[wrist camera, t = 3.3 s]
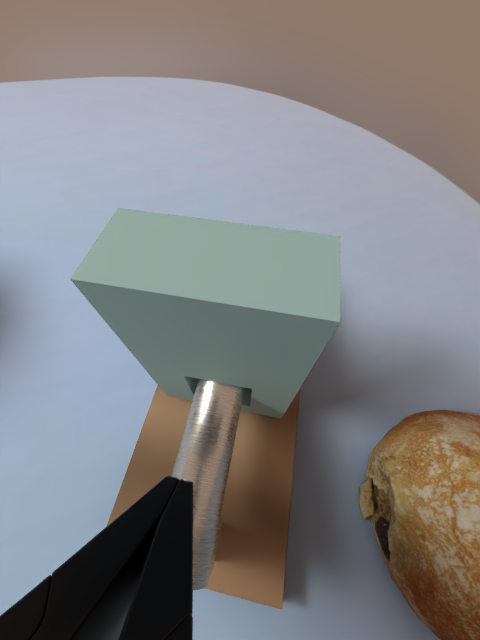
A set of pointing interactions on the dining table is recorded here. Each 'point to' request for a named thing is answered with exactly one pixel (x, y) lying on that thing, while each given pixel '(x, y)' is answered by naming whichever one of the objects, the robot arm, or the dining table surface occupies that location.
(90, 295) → the sage green slotted block
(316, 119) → the dining table surface
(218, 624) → the dining table surface
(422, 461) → the bread roll
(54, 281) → the dining table surface
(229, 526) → the walnut board
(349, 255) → the dining table surface
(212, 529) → the grey metal pipe
